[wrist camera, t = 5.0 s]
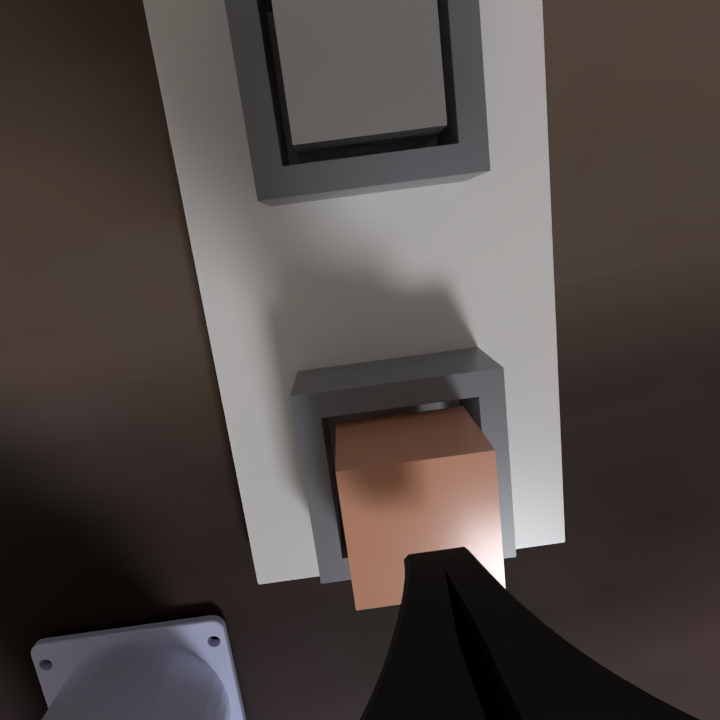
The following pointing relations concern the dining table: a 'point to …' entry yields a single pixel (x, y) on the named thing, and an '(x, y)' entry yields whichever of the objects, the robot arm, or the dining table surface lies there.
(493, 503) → the button terracotta
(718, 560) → the dining table surface
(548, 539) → the console
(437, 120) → the button grey
